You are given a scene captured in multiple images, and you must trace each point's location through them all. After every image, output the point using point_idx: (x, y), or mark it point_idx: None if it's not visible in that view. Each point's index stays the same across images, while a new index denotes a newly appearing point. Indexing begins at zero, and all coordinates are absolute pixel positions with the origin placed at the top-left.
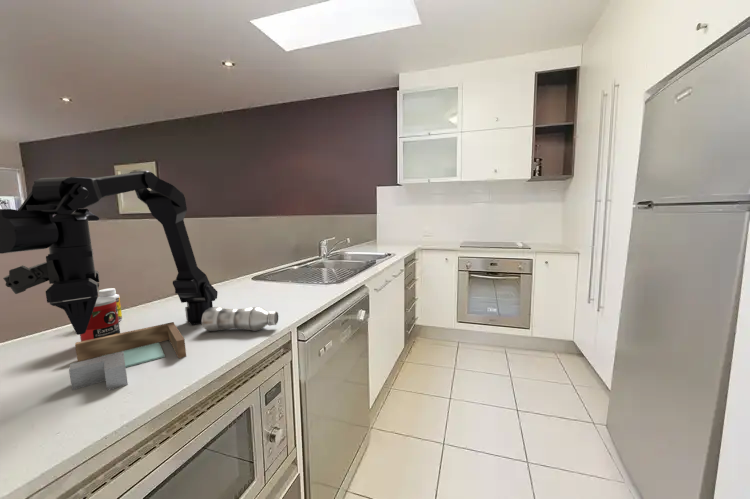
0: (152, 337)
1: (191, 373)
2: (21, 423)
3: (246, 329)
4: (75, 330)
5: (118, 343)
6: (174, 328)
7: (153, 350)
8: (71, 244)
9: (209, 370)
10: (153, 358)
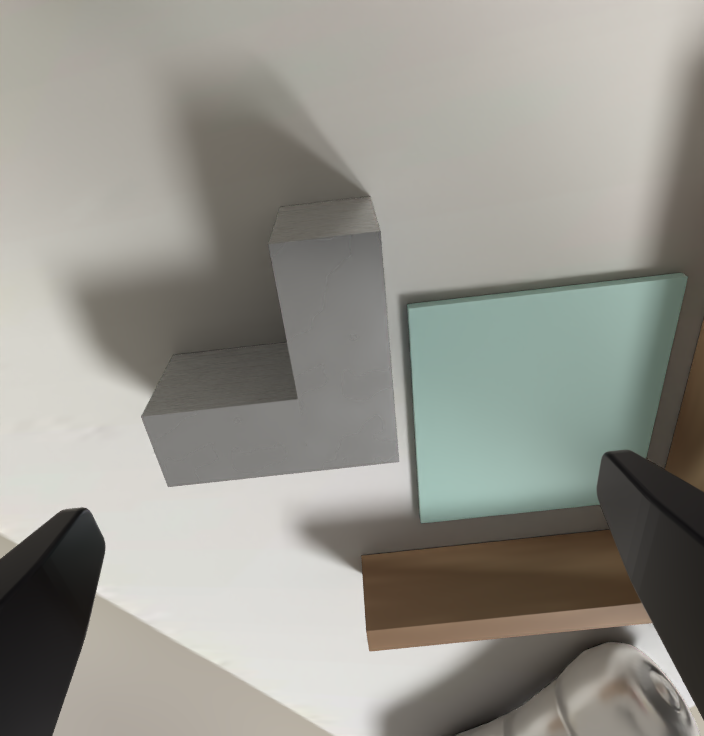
0: None
1: (171, 585)
2: None
3: (471, 730)
4: (21, 546)
5: None
6: (591, 621)
7: (530, 486)
8: None
9: (165, 623)
10: (418, 490)
